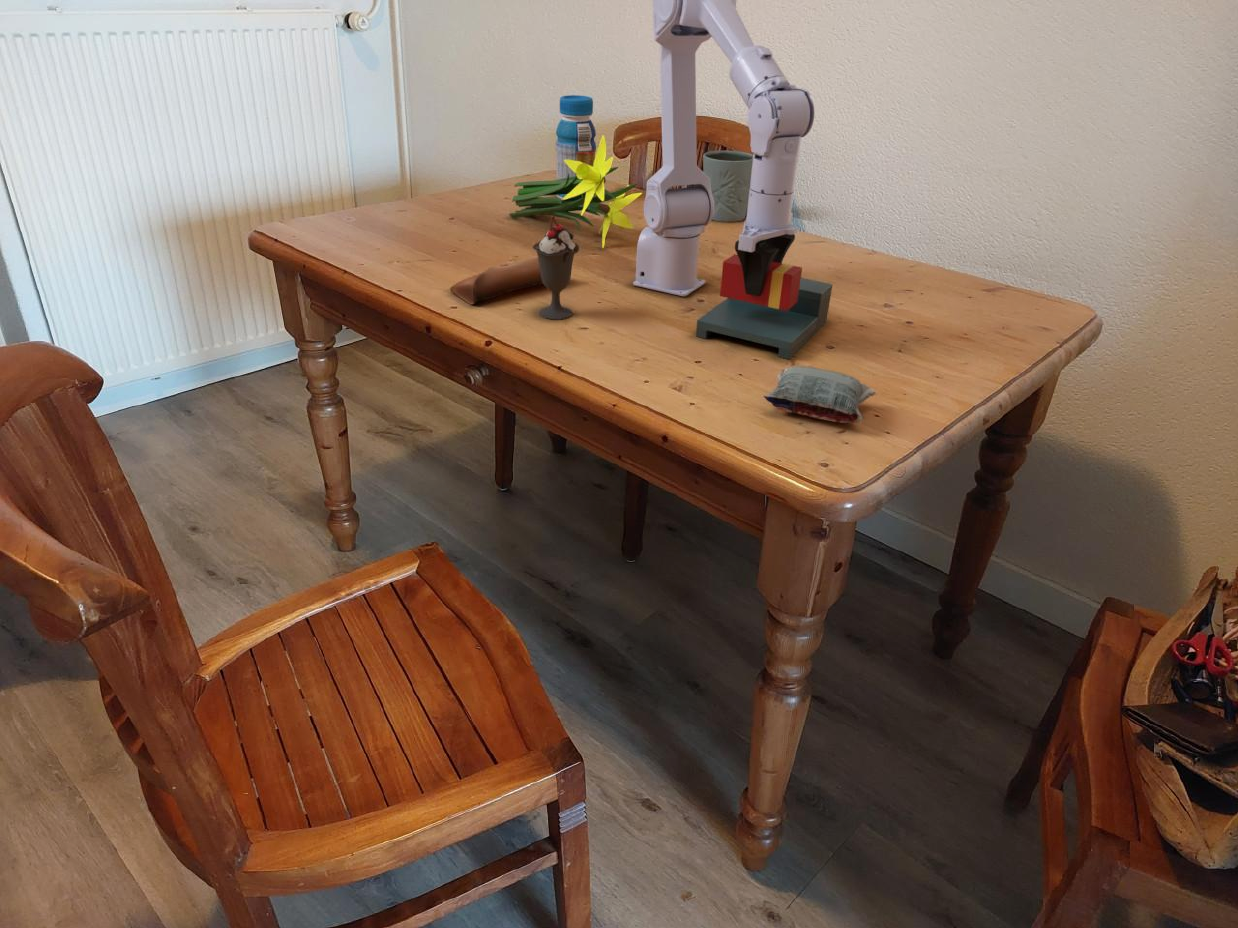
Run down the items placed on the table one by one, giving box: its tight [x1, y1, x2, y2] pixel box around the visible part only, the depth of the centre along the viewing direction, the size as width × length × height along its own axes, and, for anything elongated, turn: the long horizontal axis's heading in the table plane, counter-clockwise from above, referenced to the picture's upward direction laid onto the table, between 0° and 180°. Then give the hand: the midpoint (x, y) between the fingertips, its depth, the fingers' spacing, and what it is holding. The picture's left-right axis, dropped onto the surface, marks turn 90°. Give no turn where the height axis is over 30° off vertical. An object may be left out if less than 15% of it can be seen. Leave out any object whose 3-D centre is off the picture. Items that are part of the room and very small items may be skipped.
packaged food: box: [763, 365, 877, 424], centre depth 104 cm, size 9×12×5 cm
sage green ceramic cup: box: [702, 150, 753, 223], centre depth 175 cm, size 10×10×12 cm
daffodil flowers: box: [508, 134, 643, 249], centre depth 160 cm, size 17×15×35 cm
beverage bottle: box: [554, 94, 597, 200], centre depth 181 cm, size 8×8×20 cm
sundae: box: [531, 216, 580, 321], centre depth 125 cm, size 7×7×15 cm
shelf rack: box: [695, 277, 833, 360], centre depth 125 cm, size 14×16×6 cm
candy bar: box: [719, 253, 803, 311], centre depth 120 cm, size 10×4×5 cm, turn 60°
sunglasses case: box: [450, 257, 544, 306], centre depth 137 cm, size 18×7×7 cm, turn 132°
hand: (759, 289), depth 120 cm, fingers closed on candy bar, 4 cm apart
